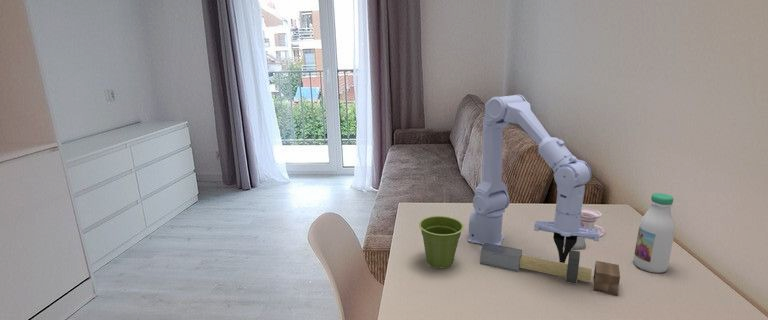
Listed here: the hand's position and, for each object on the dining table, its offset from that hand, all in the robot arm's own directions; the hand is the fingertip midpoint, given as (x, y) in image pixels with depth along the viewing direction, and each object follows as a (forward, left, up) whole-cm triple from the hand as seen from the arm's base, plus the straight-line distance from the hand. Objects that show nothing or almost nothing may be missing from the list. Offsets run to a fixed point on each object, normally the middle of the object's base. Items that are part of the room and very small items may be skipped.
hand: (562, 260), depth 103 cm
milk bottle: (+21, +16, -5) cm, 27 cm away
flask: (+2, +21, -5) cm, 22 cm away
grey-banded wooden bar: (-4, 0, -4) cm, 6 cm away
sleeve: (-15, 0, -5) cm, 16 cm away
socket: (+10, 0, -5) cm, 11 cm away
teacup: (+5, +33, -5) cm, 34 cm away
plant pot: (-30, -6, -5) cm, 31 cm away
